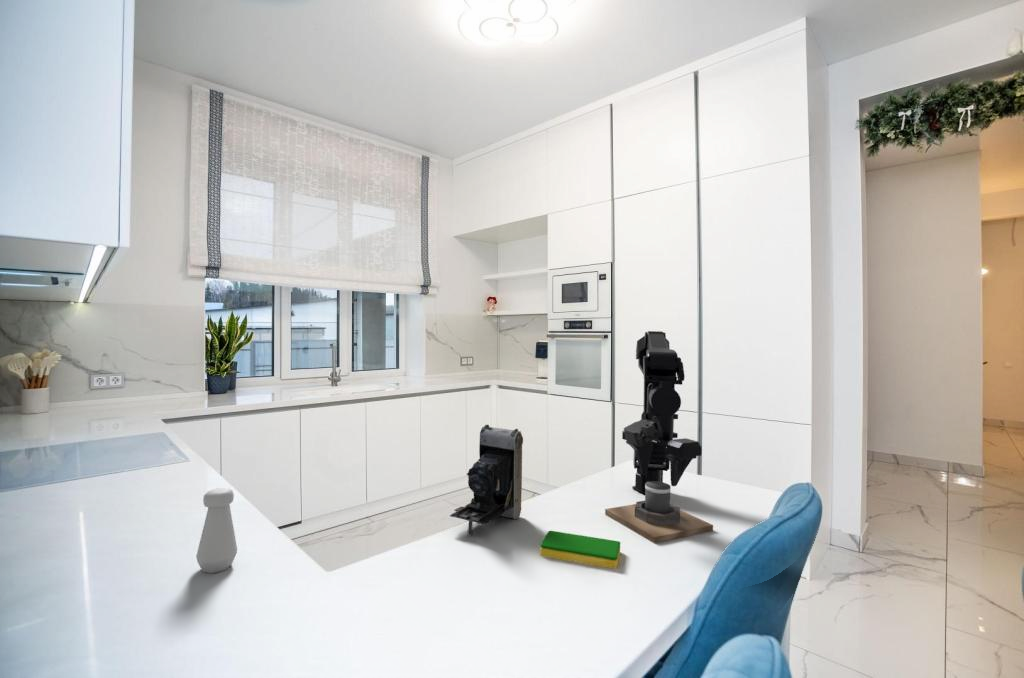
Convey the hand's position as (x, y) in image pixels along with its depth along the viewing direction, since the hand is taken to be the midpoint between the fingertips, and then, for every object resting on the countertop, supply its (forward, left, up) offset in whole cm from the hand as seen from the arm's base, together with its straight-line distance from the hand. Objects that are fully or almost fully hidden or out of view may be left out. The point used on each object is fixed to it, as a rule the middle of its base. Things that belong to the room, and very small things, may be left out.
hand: (658, 479), depth 103 cm
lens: (0, 0, -8) cm, 8 cm away
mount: (0, 0, -9) cm, 9 cm away
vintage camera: (+35, -13, -10) cm, 39 cm away
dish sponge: (+24, +6, -10) cm, 27 cm away
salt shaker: (+84, -13, -10) cm, 85 cm away
